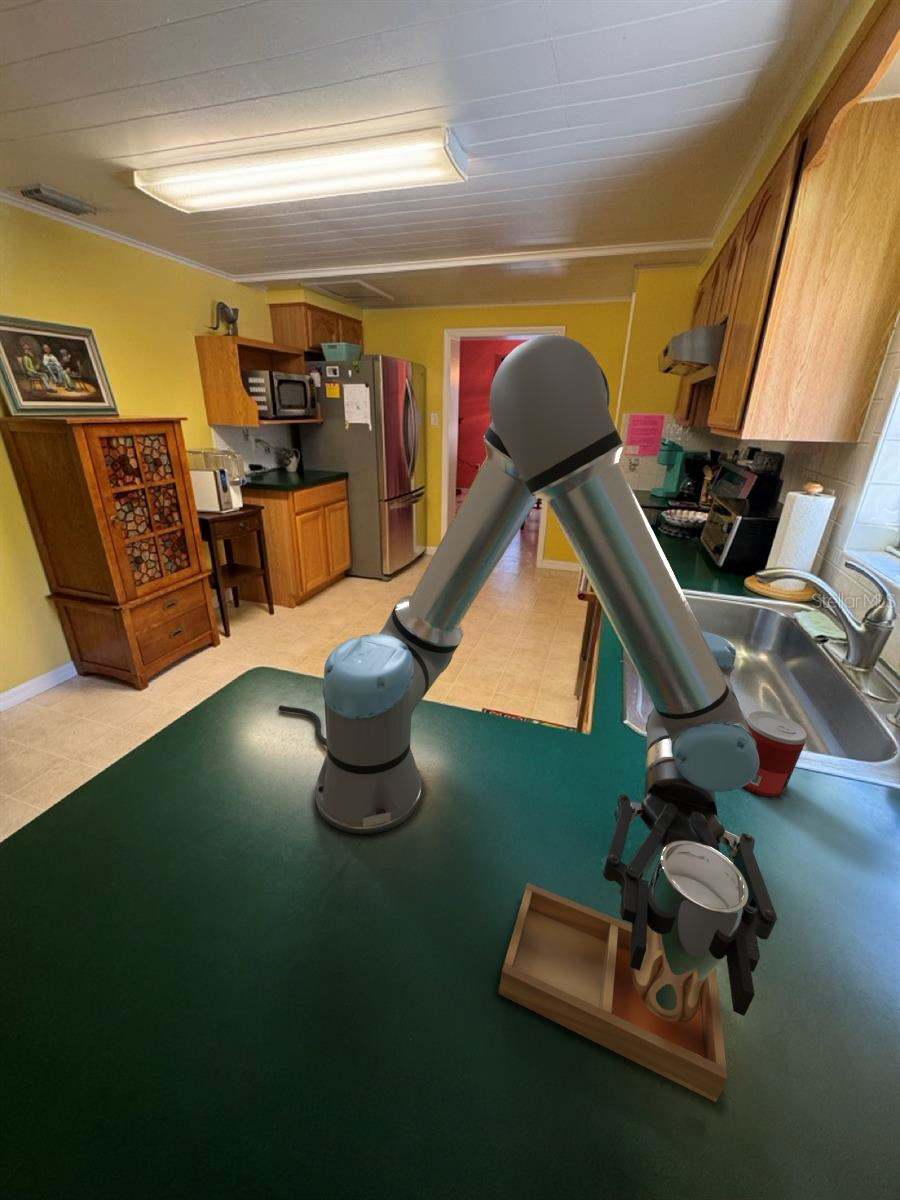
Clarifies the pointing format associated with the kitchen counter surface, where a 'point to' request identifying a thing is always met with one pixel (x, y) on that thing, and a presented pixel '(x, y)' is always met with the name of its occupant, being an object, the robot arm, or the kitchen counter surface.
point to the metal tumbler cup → (687, 927)
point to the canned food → (774, 751)
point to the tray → (607, 991)
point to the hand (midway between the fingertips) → (689, 979)
